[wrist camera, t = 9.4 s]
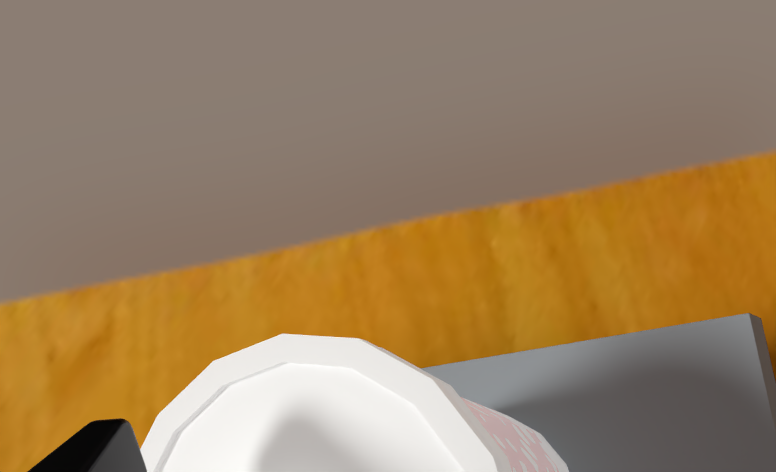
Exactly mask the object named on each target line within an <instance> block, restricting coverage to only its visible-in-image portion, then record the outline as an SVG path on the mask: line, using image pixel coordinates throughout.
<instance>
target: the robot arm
mask: <svg viewBox="0 0 776 472" xmlns="http://www.w3.org/2000/svg"><path fill="white" fill-rule="evenodd" d="M28 472H147V469H146V465H145V463H144V460H143V457H142V454H141V451H140V448H139V445H138V443H137V440H136V437H135V434H134V431H133V428H132V426H131V424H130V423H129V422H128V421H127V420H125V419H107V420H97V421H92V422H90V423H89V424H87V425H86V426H84V427H83V428H82V429H81V430H79V431H78V432H77V433H76V434H74V435H73V436H72V437H71V438H69V439H68V440H67V441H66V442H64V443H63V444H62V445H61V446H59V447H58V448H57V449H55V450H54V451H53V452H52V453H50V454H49V455H48V456H47V457H45V458H44V459H43V460H42V461H40V462H39V463H38V464H37V465H35V466H34V467H33V468H31V469H30V470H29V471H28Z"/></svg>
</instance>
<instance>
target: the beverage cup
mask: <svg viewBox="0 0 776 472" xmlns="http://www.w3.org/2000/svg"><path fill="white" fill-rule="evenodd" d="M140 451H141V454H142V457H143V460H144V463H145V465H146V469H147V472H569V470H568V467H567V465H566V463H565V462H564V461H563V460H562V459H561V457H560V456H559V455H558V454H557V453H556V451H555V450H554V449H553V448H552V447H551V445H550V444H549V443H548V442H547V441H546V439H545V438H544V437H543V436H542V435H541V434H540V433H538V432H537V431H535V430H533V429H531V428H529V427H528V426H526V425H524V424H522V423H520V422H518V421H517V420H515V419H513V418H511V417H509V416H507V415H505V414H502V413H500V412H497V411H495V410H492V409H490V408H487V407H485V406H482V405H480V404H477V403H475V402H472V401H469V400H467V399H464V398H462V397H460V396H459V395H458V394H457V393H456V391H455V390H454V389H453V388H452V386H451V385H449V384H447V383H445V382H444V381H442V380H440V379H438V378H436V377H434V376H433V375H431V374H429V373H427V372H425V371H423V370H422V369H420V368H418V367H416V366H414V365H412V364H411V363H409V362H407V361H405V360H403V359H402V358H400V357H398V356H396V355H394V354H392V353H391V352H389V351H387V350H385V349H383V348H381V347H377V346H375V345H373V344H371V343H370V342H368V341H365V340H362V339H358V338H342V337H326V336H310V335H294V334H281V335H278V336H276V337H273V338H271V339H268V340H265V341H263V342H260V343H258V344H255V345H253V346H250V347H248V348H245V349H243V350H240V351H238V352H235V353H233V354H230V355H228V356H225V357H223V358H220V359H218V360H215V361H213V362H212V363H211V364H210V365H209V366H208V367H207V368H206V369H205V370H204V371H203V372H202V373H201V374H200V375H199V376H198V377H197V378H195V379H194V380H193V381H192V382H191V383H190V384H189V385H188V386H187V387H186V388H185V389H184V390H183V391H182V392H181V393H180V394H179V395H178V396H177V397H176V398H175V399H174V400H173V401H172V402H171V403H170V404H169V405H168V406H167V407H165V408H164V409H163V410H162V411H161V412H160V413H159V414H158V416H157V418H156V420H155V422H154V423H153V425H152V427H151V429H150V431H149V433H148V435H147V437H146V439H145V441H144V443H143V445H142V447H141V449H140Z"/></svg>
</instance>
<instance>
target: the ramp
mask: <svg viewBox="0 0 776 472" xmlns="http://www.w3.org/2000/svg"><path fill="white" fill-rule="evenodd" d="M421 369H422V370H423V371H425V372H427V373H429V374H431V375H433V376H434V377H436V378H438V379H440V380H442V381H444V382H445V383H447V384H449V385H451V386H452V388H453V389H454V390H455V391H456V393H457V394H458V395H459V396H460V397H462V398H464V399H467V400H469V401H472V402H475V403H477V404H480V405H482V406H485V407H487V408H490V409H492V410H495V411H497V412H500V413H502V414H505V415H507V416H509V417H511V418H513V419H515V420H517V421H518V422H520V423H522V424H524V425H526V426H528V427H529V428H531V429H533V430H535V431H537V432H538V433H540V434H541V435H542V436H543V437H544V438H545V439H546V441H547V442H548V443H549V444H550V445H551V447H552V448H553V449H554V450H555V451H556V453H557V454H558V455H559V456H560V457H561V459H562V460H563V461H564V462H565V463H566V465H567V467H568V470H569V472H776V382H775V378H774V374H773V369H772V365H771V360H770V356H769V352H768V347H767V343H766V339H765V334H764V330H763V325H762V321H761V318H759V317H756V316H754V315H752V314H750V313H747V314H741V315H735V316H729V317H723V318H717V319H711V320H705V321H700V322H694V323H688V324H682V325H676V326H670V327H664V328H658V329H652V330H646V331H640V332H634V333H628V334H623V335H617V336H611V337H605V338H599V339H593V340H587V341H581V342H575V343H569V344H563V345H557V346H552V347H546V348H540V349H534V350H528V351H522V352H516V353H510V354H504V355H498V356H492V357H486V358H480V359H475V360H469V361H463V362H457V363H451V364H445V365H439V366H433V367H427V368H421Z"/></svg>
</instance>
